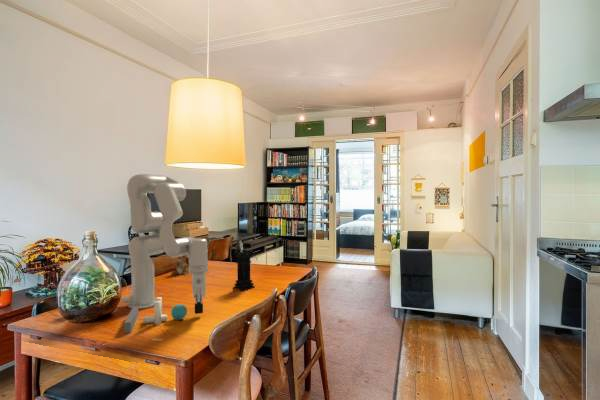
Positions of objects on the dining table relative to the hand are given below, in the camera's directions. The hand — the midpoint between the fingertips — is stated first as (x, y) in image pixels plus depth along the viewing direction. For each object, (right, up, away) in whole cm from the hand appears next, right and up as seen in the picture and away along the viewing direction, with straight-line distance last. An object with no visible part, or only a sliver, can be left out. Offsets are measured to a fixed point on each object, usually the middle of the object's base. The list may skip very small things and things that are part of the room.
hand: (198, 312), depth 136 cm
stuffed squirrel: (-34, -1, +78) cm, 85 cm away
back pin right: (-14, -2, -7) cm, 16 cm away
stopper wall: (-24, -2, -8) cm, 25 cm away
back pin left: (-16, -2, -2) cm, 16 cm away
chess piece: (+12, -1, +42) cm, 43 cm away
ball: (-7, +1, -3) cm, 8 cm away
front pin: (-12, -1, -4) cm, 12 cm away
